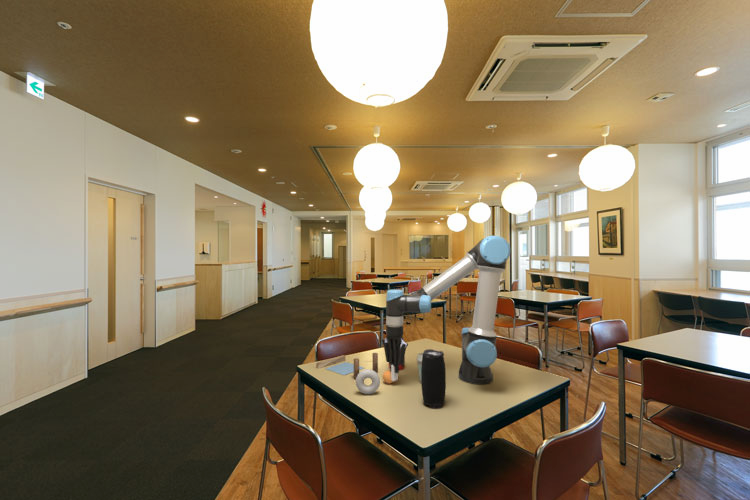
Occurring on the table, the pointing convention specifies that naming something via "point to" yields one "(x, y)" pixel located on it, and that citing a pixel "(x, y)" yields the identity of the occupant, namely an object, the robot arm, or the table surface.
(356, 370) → the left post
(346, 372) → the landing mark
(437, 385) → the portable speaker
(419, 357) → the coffee cup
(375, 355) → the right post
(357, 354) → the table surface
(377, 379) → the donut
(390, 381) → the ball
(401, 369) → the canned food
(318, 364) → the stopper rail
